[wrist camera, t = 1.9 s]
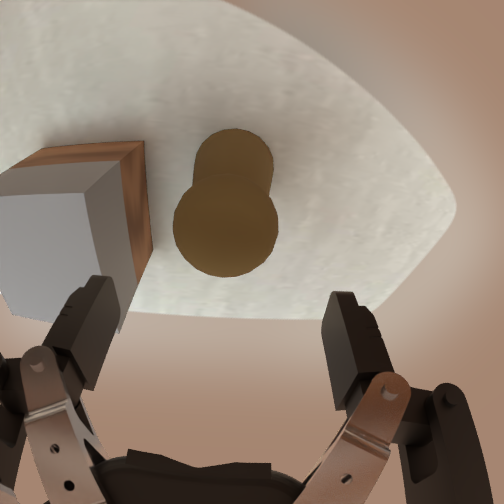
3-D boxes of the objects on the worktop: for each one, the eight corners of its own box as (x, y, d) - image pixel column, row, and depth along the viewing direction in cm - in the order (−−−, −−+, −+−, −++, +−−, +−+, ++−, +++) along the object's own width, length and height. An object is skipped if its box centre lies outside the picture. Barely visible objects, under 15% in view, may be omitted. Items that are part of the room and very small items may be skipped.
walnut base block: (42, 148, 21) (8, 169, 17) (143, 140, 22) (119, 160, 17) (62, 245, 27) (38, 275, 23) (153, 250, 27) (137, 285, 23)
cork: (246, 113, 21) (244, 155, 12) (287, 179, 24) (312, 263, 14) (179, 156, 22) (131, 227, 13) (222, 215, 25) (208, 311, 16)
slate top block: (8, 169, 17) (-34, 198, 13) (119, 160, 17) (83, 193, 13) (38, 275, 23) (12, 314, 18) (137, 285, 23) (119, 333, 19)
